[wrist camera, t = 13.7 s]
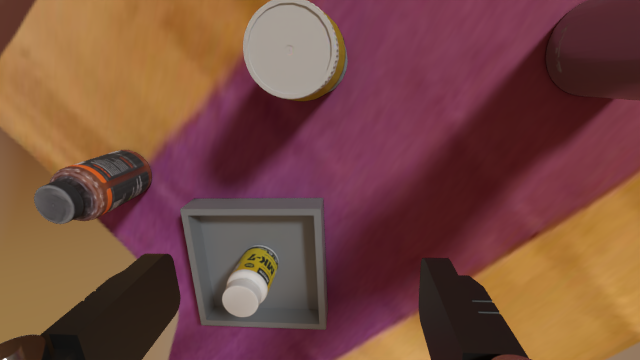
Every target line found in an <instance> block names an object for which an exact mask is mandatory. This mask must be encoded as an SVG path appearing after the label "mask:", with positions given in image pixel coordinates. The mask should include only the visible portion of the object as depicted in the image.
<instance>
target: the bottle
mask: <svg viewBox="0 0 640 360" xmlns="http://www.w3.org/2000/svg"><path fill="white" fill-rule="evenodd" d="M243 52H244V58H245V62H246V65H247V68H248V70H249V72H250V74H251V76H252V77H253V79H254V80H255V81H256V83H257V84H258V85H259V86H260V87H262V88H263V90H265V91H267V92H268V93H270V94H272V95H273V96H277V97H281V98H282V99H284V98H286V99H289V100H295V101H309V100H314V99H317V98H319V97H321V96H323V95H325V94H326V93H328V92H330V91H332V90H333V89H335V88H336V87H337V85H338V84H339V83H340V82H341V81H342V79H343V77H344V75H345V72H346V68H347V53H346V48H345V43H344V39H343V36H342V34H341V32H340V30H339V28H338V27H337V25H336V24H335V22H334V21H333V20H332V19H331V18H330V17H329V16H328V15H327V14H325V13H324V12H323V11H322V10H320V9H319V7H316V6H315V5H314V4H313V3H310V2H309V1H306V0H272V1H270V2H268V3H266V4H265V5H263V6H262V7H261V8H260V9H259V10H258V11H257V12H256V13H255V14H254V15H253V17H252V18H251V20H250V22H249V24H248V26H247V28H246V31H245V35H244V42H243Z"/></svg>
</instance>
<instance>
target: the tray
mask: <svg viewBox="0 0 640 360" xmlns="http://www.w3.org/2000/svg"><path fill="white" fill-rule="evenodd" d="M180 211H181V216H182V222H183V227H184V233H185V238H186V244H187V249H188V254H189V260H190V265H191V271H192V276H193V282H194V287H195V293H196V298H197V304H198V309H199V315H200V320H201V325H213V326H240V327H268V328H295V329H323V330H326V324H327V314H328V303H327V278H326V254H325V229H324V204H323V198H230V199H193V200H192V201H190V202H189V203H188V204H186V205H185V206H184V207H182V208H181V209H180ZM255 245H263V246H266V247H268V248H270V249H272V250H273V251H274V252H275V253H276V255H277V257H278V261H279V265H278V269H277V272H276V274H275V277H274V279H273V282H272V284H271V286H270V289H269V291H268V294H267V296H266V298H265V299H264V301H263V302H262V303H260V304H259V306H258V308H257V310H256V312H255V313H254V314H252V315H251V316H248V317H237V316H235V315H232V314H231V313H229V312H228V311H227V310H226V309H225V307H224V305H223V302H222V296H223V293H224V291H225V289H226V287H227V281H228V278H229V277H230V275H231V273H232V272H233V270H234V269H235V267H236V266H237V264H238V263H239V261H240V259H241V258H242V256H243V255H244V253H245V252H246V251H247V250H248V249H249V248H250V247H252V246H255Z"/></svg>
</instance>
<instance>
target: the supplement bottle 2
mask: <svg viewBox="0 0 640 360" xmlns="http://www.w3.org/2000/svg"><path fill="white" fill-rule="evenodd" d="M278 265H279V261H278V257H277V255H276V253H275V252H274V251H273V250H272V249H270V248H268V247H266V246H263V245H255V246H252V247H250V248H249V249H248V250H247V251H246V252H245V253H244V255H243V256H242V258H241V259H240V261H239V263H238V264H237V266H236V267H235V269H234V270H233V272H232V273H231V275H230V277H229V278H228V281H227V287H226V289H225V291H224V293H223V296H222V302H223V305H224V307H225V309H226V310H227V311H228V312H229V313H231V314H232V315H235V316H237V317H248V316H251V315H252V314H254V313H255V312H256V310H257V308H258V306H259V304H260V303H262V302H263V301H264V299H265V298H266V296H267V294H268V291H269V289H270V286H271V284H272V282H273V279H274V277H275V274H276V272H277V269H278Z"/></svg>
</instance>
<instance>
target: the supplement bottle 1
mask: <svg viewBox="0 0 640 360" xmlns="http://www.w3.org/2000/svg"><path fill="white" fill-rule="evenodd" d="M151 180H152V173H151V169H150V167H149V165H148V163H147V161H146V160H145V159H144V158H143V157H142V156H141V155H139V154H138V153H136V152H133V151H130V150H119V151H115V152H112V153H109V154H106V155H102V156H99V157H96V158H93V159H90V160H87V161H84V162H80V163H77V164H74V165H71V166H68V167H65V168H63V169H61V170H59V171H58V172H56V173H55V174H54V176H53V177H52V179H51V180H50V183H49V184H47V185H44V186H42V187H40V188H39V189H38V190H37V191H36V193H35V197H34V201H35V205H36V208H37V210H38V211H39V213H40V214H41V215H42V216H43V217H44V218H45V219H47V220H48V221H51V222H53V223H56V224H64V223H67V222H69V221H71V220H80V221H89V220H93V219H95V218H98V217H100V216H101V215H103V214H105V213H107V212H109V211H111V210H112V209H114V208H116V207H118V206H120V205H121V204H123V203H125V202H127V201H129V200H130V199H132V198H134V197H136V196H138V195H139V194H141V193H143V192H144V191H145V190H147V188H148V187H149V186H150V184H151Z"/></svg>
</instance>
